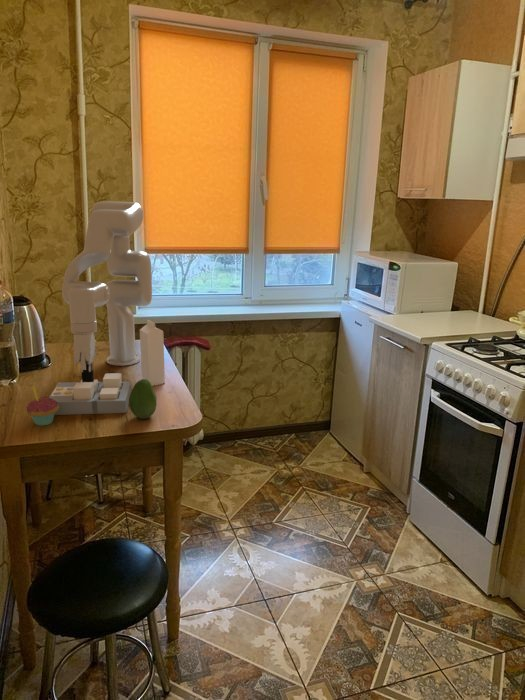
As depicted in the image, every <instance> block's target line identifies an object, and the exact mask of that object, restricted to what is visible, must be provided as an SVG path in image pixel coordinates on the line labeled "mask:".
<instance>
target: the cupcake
mask: <svg viewBox="0 0 525 700" xmlns="http://www.w3.org/2000/svg"><path fill="white" fill-rule="evenodd" d="M31 386H32V387H31V388H32V391H33V394H34V397H35V399H33V400H31V401H30V402H29V403H28V404H27V406H26V407H25V409H26V412H27V414H28V415H29V416H31V418H32V420H33V422H34V424H35V425H36V426H48V425H50V424H52V423H53V422H54V417H55V415H54V414H55V413H56V412H57V411H58V410H59V405H58V402H56V401H55V400H54V399H51V398H49V397H39V396H38V393H37V389H36V387H35V385H34V384H33V383H31Z"/></svg>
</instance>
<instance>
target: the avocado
mask: <svg viewBox="0 0 525 700" xmlns="http://www.w3.org/2000/svg"><path fill="white" fill-rule="evenodd" d="M157 405H158V404H157V395H156V393H155V390H154V388H153V386H152V385H151V383H150V382H149V381H148V380H147V379H142V378H141V379H140V380H138V381H136V383H135V384H134V385H133V387H132V392H131V395H130V398H129V404H128V407H129V409H130V411H131V413H132V414H133V415H134V416H135V417H136V418H137V419H140V420H146V419H147V420H148V419H149V418H150V417H152V415H153V414H154V413H155V411H156V410H157V409H156V408H157Z"/></svg>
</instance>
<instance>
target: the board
mask: <svg viewBox="0 0 525 700" xmlns="http://www.w3.org/2000/svg"><path fill="white" fill-rule="evenodd" d="M75 384H76V381H71V382H67V381H65V382H63V381H62V382H60V381H59V382H58V383H57V384H56V386H55V387H54V389H53V390H52V392H51V393H50V395H49V396H48V398H51V399H54V400H55V401H56V402H58V405H59V410H58V411H57V412H56V413H55V414H54V416H60V415H61V416H63V415H65V416H66V415H90V414H91V415H92V414H93V415H95V414H97V415H98V414H125V413H127V410H128V407H129V398H130V395H131V392H132V389H133V387H132V380H123V381H122V389H121V390H119V398H118V399H100V392H101V389H102V388H104V387H103V381H98V389H97V390H94V398H93V399H92V400H74V393H73V388H74V386H75Z"/></svg>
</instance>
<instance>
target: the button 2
mask: <svg viewBox="0 0 525 700" xmlns="http://www.w3.org/2000/svg"><path fill="white" fill-rule="evenodd" d="M80 382H82V379H81V380H80ZM98 382H99V380H98V379H94V381H93V384H94V390H97V389H98Z"/></svg>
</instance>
